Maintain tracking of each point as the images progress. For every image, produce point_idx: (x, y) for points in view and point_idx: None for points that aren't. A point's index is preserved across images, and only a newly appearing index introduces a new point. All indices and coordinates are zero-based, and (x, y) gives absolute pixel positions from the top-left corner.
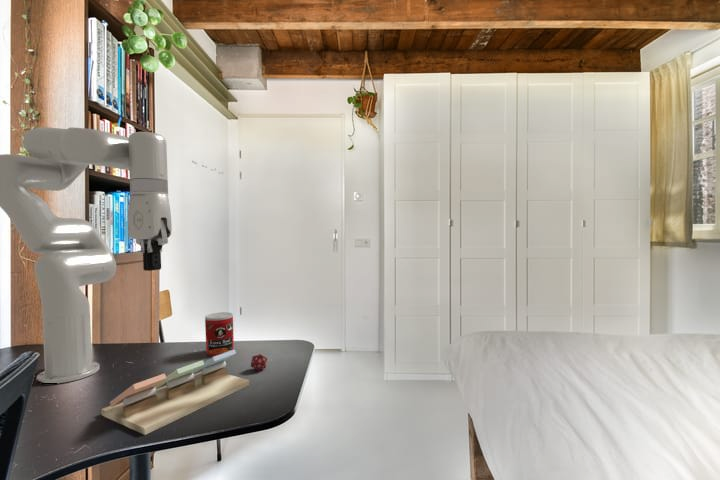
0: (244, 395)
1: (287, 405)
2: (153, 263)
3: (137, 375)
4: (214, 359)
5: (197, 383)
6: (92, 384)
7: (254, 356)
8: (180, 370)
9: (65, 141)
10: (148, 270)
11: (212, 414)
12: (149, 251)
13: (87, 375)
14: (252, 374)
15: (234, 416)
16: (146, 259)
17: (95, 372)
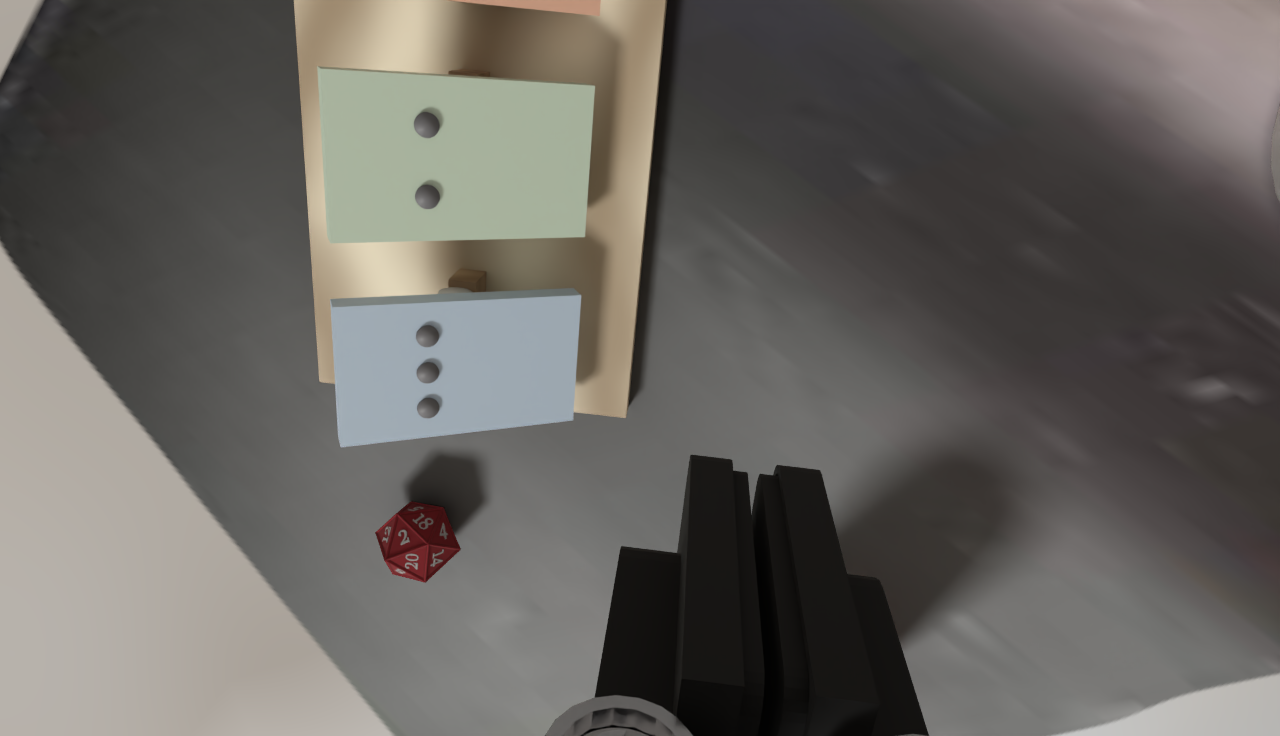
0: (260, 281)
1: (34, 272)
2: (618, 582)
3: (977, 265)
4: (331, 305)
5: (506, 264)
6: (1129, 77)
7: (419, 547)
8: (320, 87)
9: None
10: (689, 461)
11: (219, 83)
12: (610, 732)
13: (1274, 134)
14: (416, 470)
15: (126, 109)
16: (714, 572)
17: (1276, 192)
